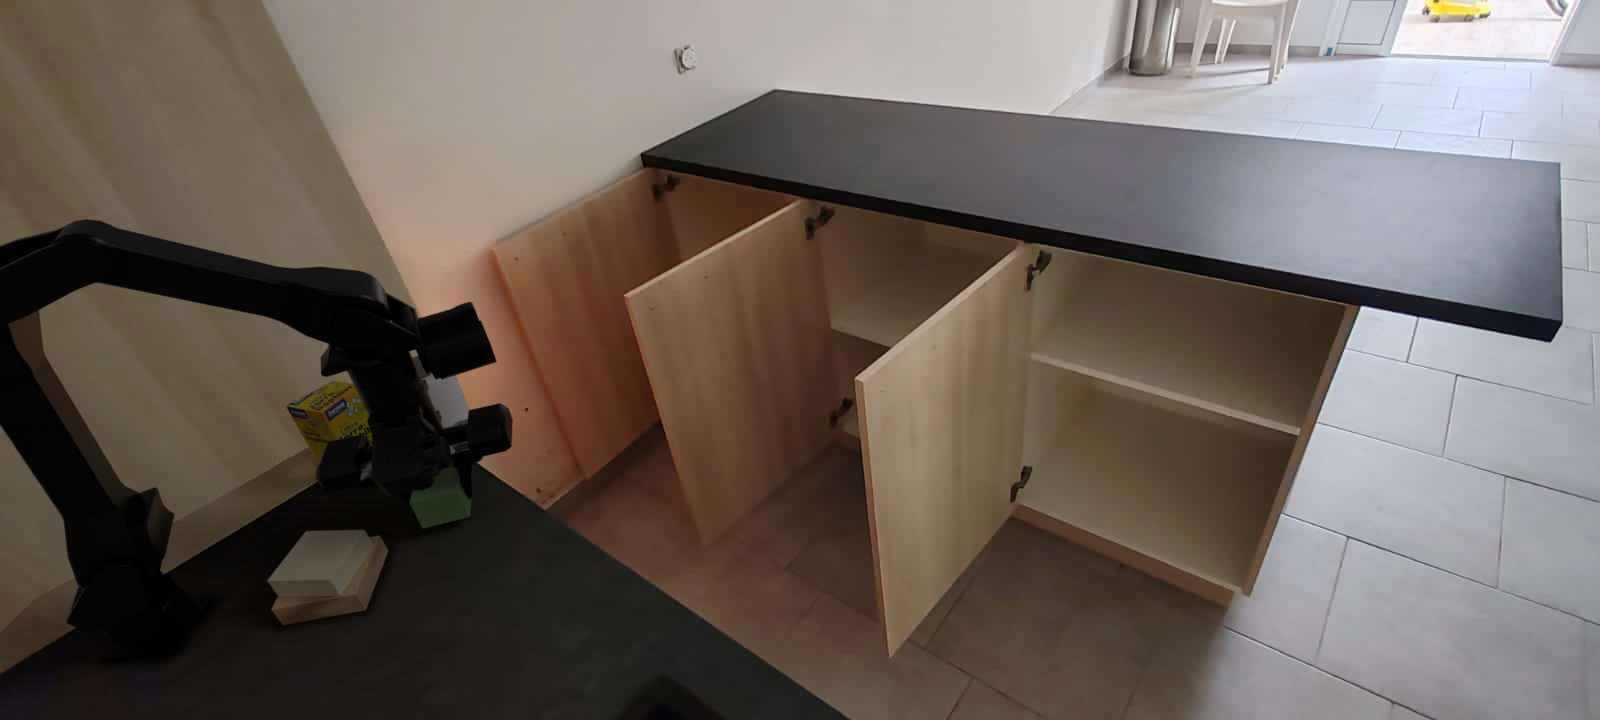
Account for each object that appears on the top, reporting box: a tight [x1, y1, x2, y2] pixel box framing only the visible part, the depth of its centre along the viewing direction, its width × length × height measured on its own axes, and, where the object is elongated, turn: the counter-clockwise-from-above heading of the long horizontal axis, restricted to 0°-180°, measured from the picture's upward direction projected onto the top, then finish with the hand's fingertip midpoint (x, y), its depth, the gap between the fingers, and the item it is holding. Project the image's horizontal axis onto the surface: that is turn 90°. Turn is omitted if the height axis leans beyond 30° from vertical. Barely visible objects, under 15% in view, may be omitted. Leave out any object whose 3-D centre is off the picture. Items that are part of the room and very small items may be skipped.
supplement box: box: [285, 379, 372, 482], centre depth 92 cm, size 6×6×11 cm
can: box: [412, 355, 471, 456], centre depth 94 cm, size 6×6×12 cm
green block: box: [409, 464, 473, 530], centre depth 83 cm, size 5×5×4 cm
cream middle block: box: [267, 529, 374, 597], centre depth 76 cm, size 6×6×2 cm
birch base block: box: [271, 535, 389, 626], centre depth 77 cm, size 8×8×2 cm
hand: (445, 502), depth 84 cm, fingers closed on green block, 5 cm apart
